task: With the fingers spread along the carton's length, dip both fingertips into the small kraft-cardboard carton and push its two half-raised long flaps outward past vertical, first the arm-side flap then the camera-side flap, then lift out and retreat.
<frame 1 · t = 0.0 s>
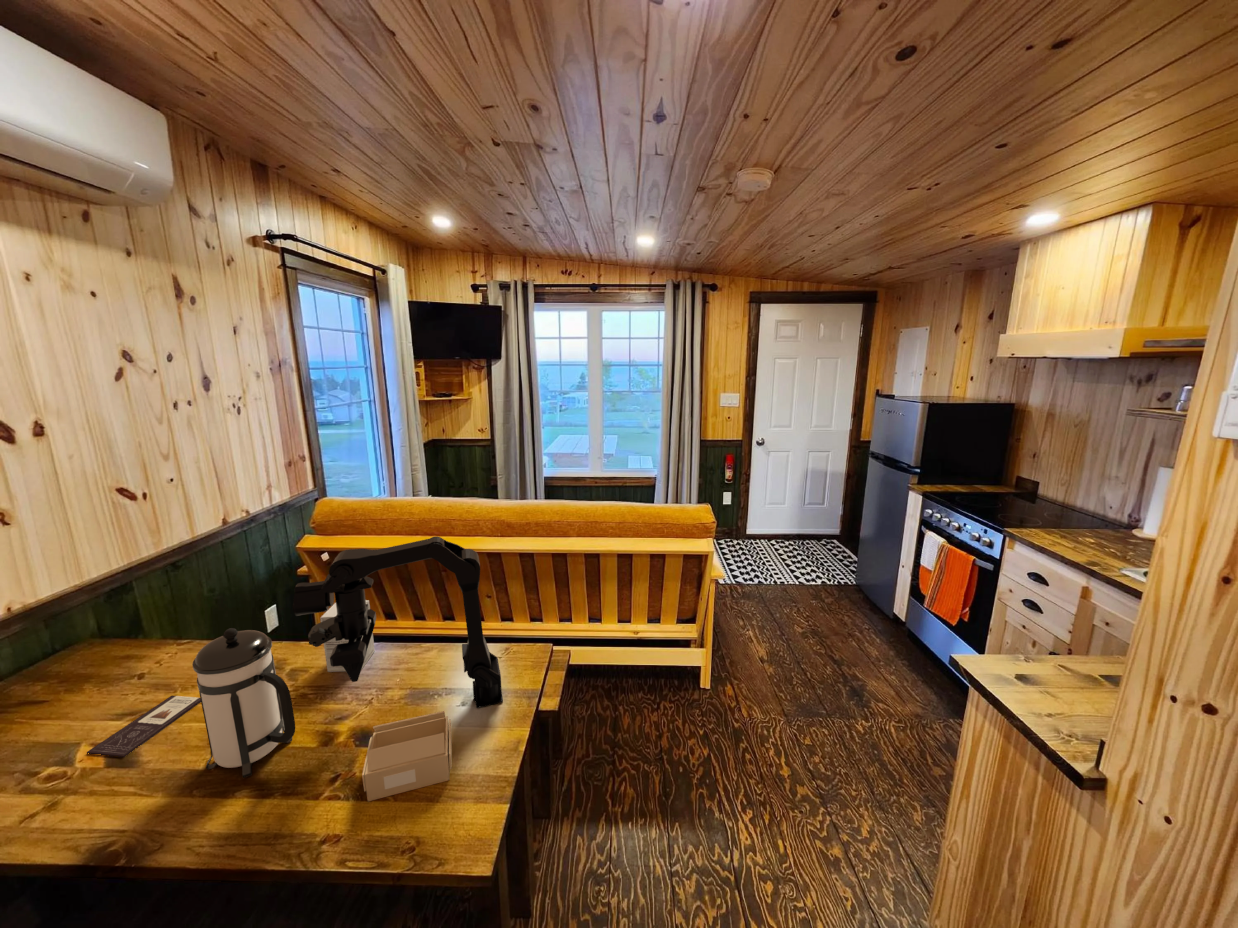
hand: (358, 668, 108), 15 cm above the table, fingers open, 9 cm apart
flap camera side: (406, 751, 93), point 8 cm above the table, hinge at 55.0°
supplement box: (352, 662, 134), on the table
flap arm side: (410, 721, 101), point 8 cm above the table, hinge at 55.0°
coffee press: (258, 753, 102), on the table
carton: (411, 767, 99), on the table
chocolate bar: (150, 727, 110), on the table
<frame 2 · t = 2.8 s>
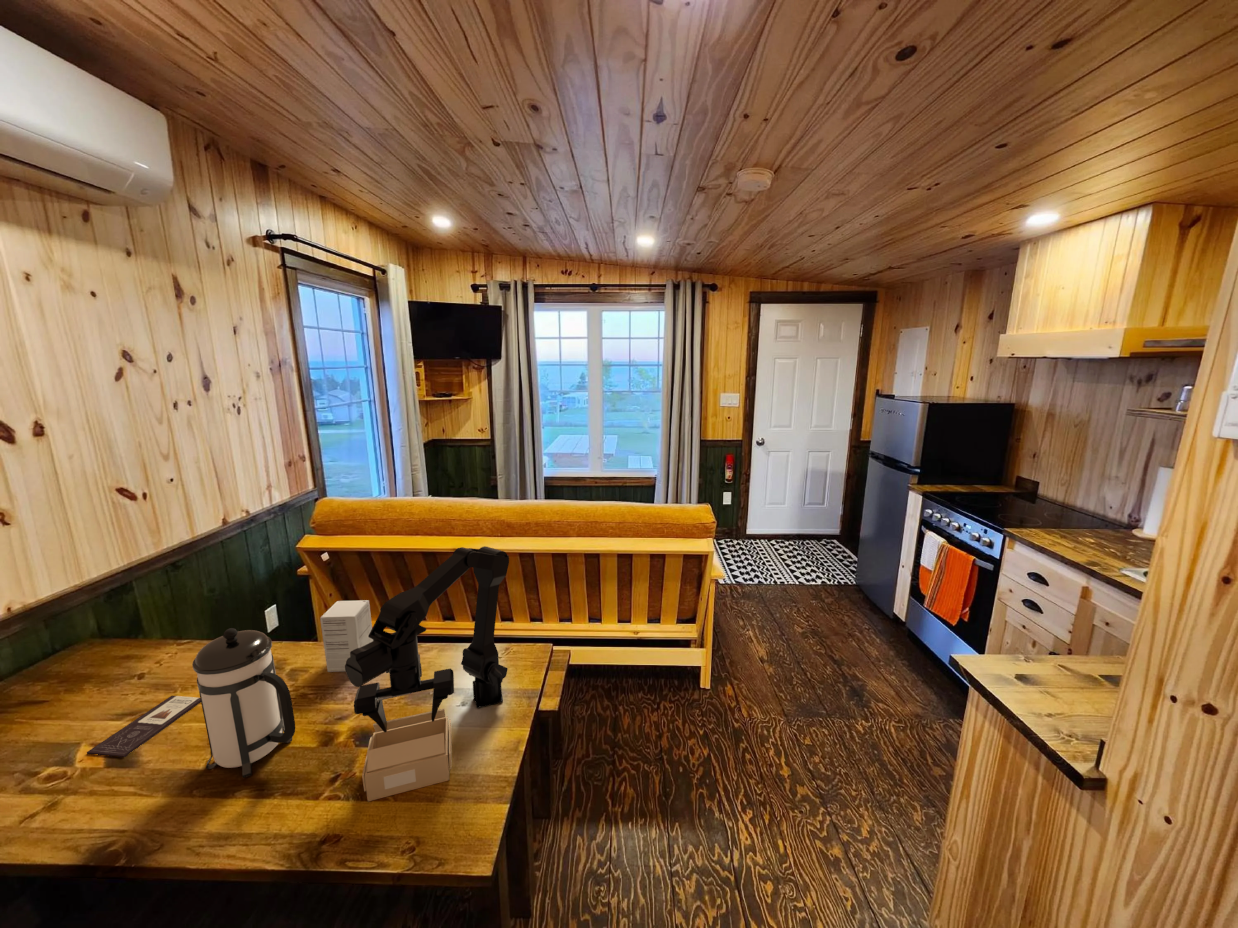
hand: (409, 725, 100), 8 cm above the table
flap arm side: (410, 720, 101), point 8 cm above the table, hinge at 62.3°, touching gripper
everything else where it was.
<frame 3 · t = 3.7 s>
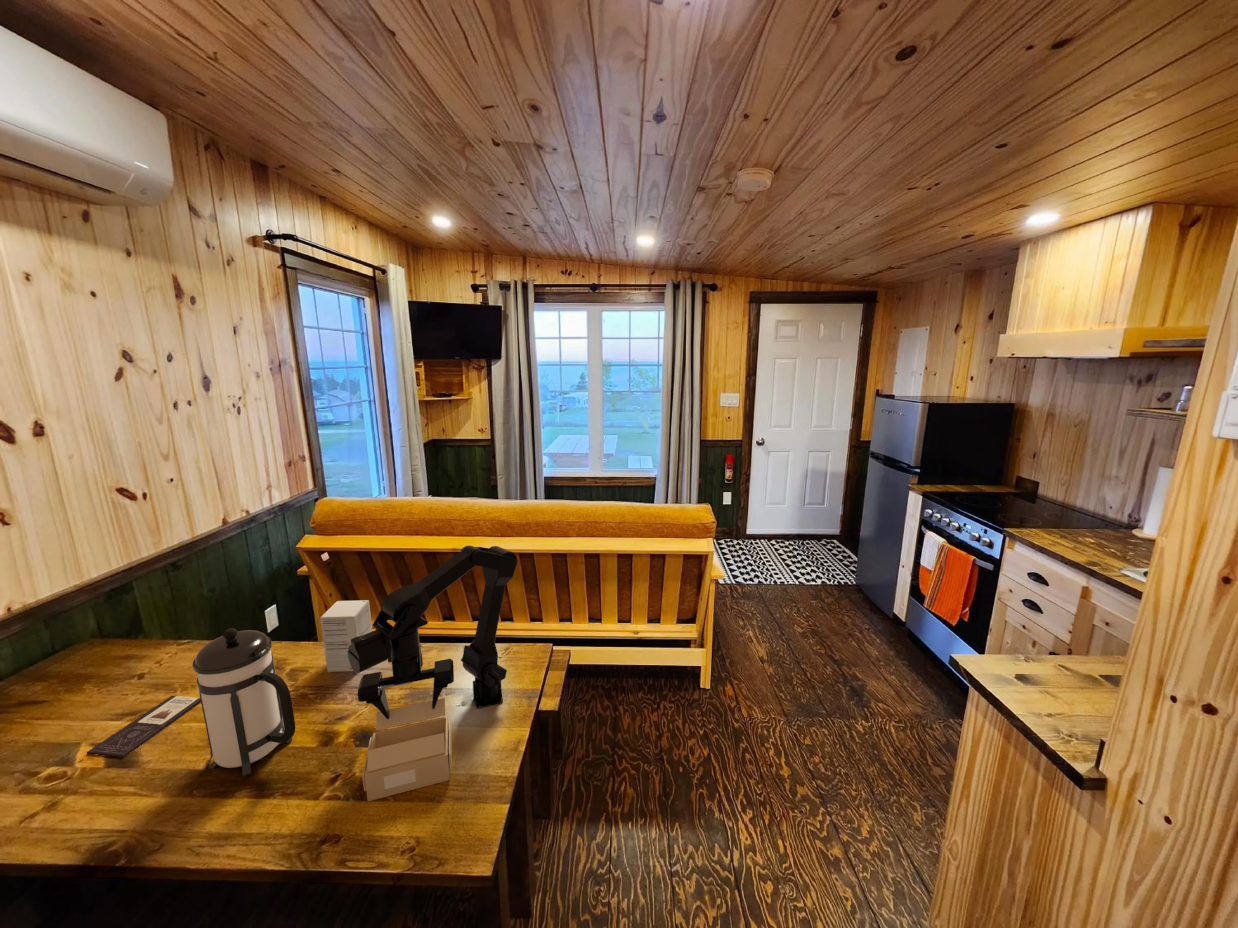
hand: (411, 712, 104), 8 cm above the table, fingers open, 9 cm apart
flap arm side: (411, 713, 104), point 8 cm above the table, hinge at 135.9°, touching gripper
everything else where it was.
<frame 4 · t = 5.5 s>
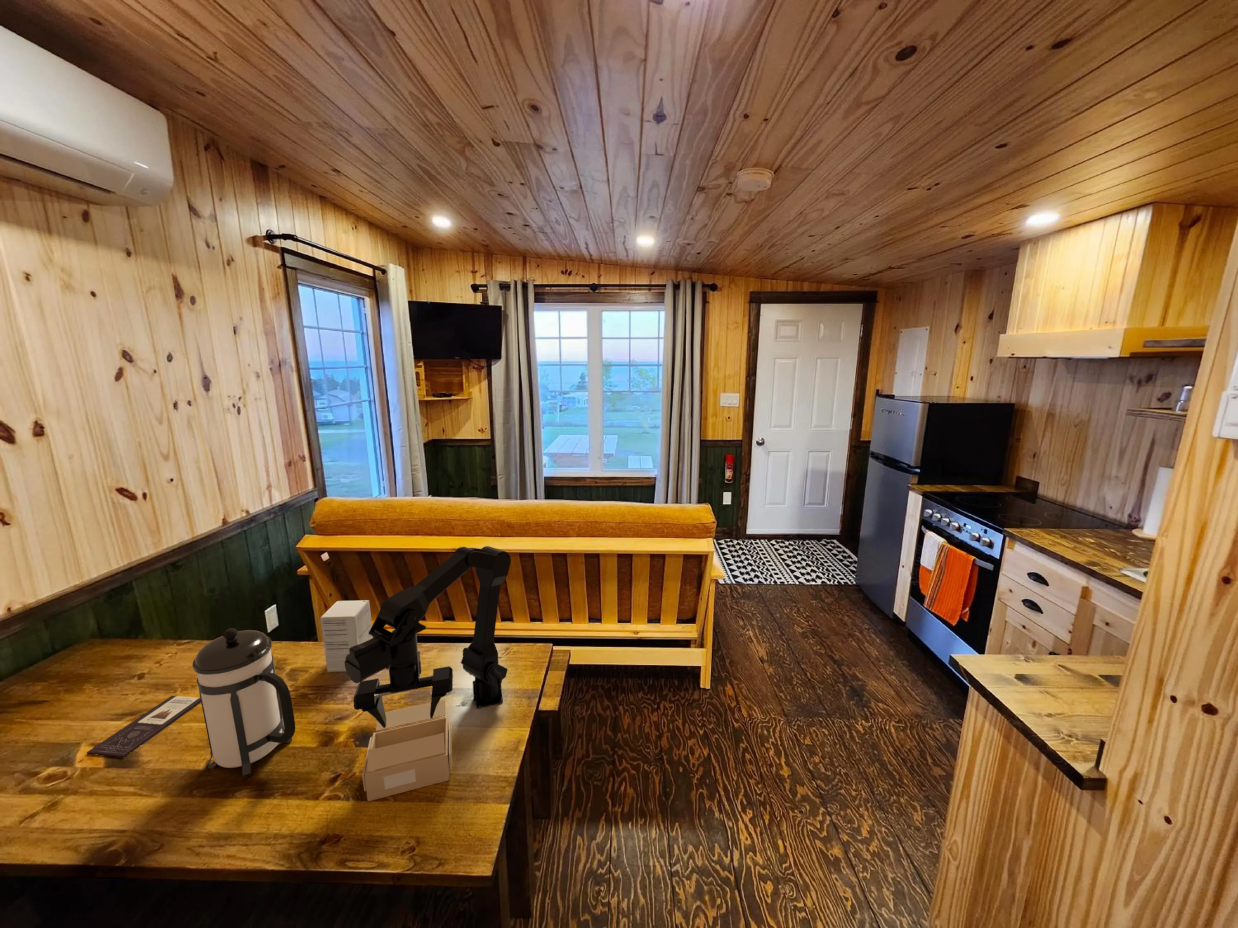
hand: (408, 721, 101), 8 cm above the table, fingers open, 9 cm apart
flap arm side: (411, 714, 104), point 7 cm above the table, hinge at 152.5°
everything else where it was.
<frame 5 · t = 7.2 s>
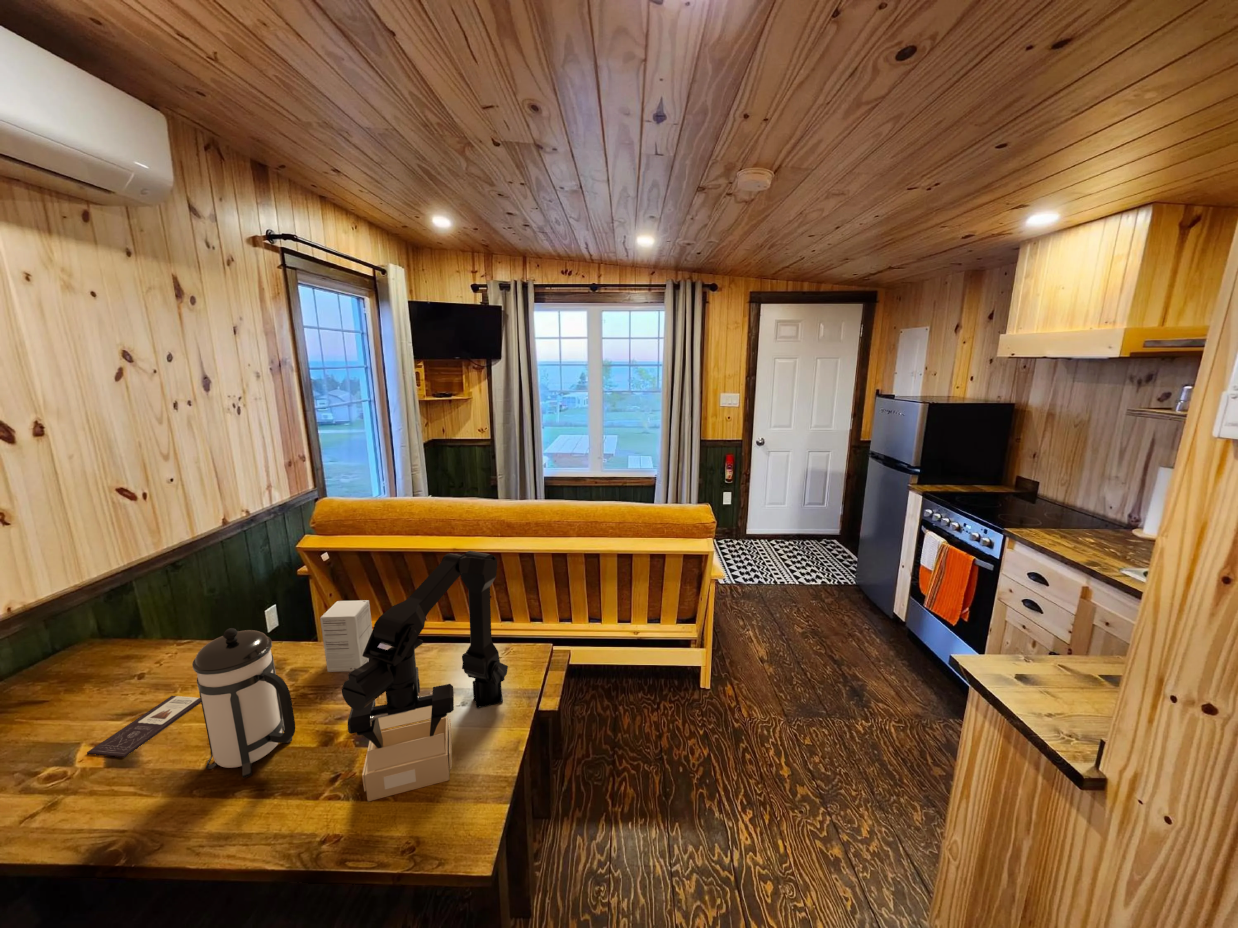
hand: (407, 743, 95), 8 cm above the table
flap camera side: (406, 751, 93), point 8 cm above the table, hinge at 64.1°, touching gripper
everything else where it was.
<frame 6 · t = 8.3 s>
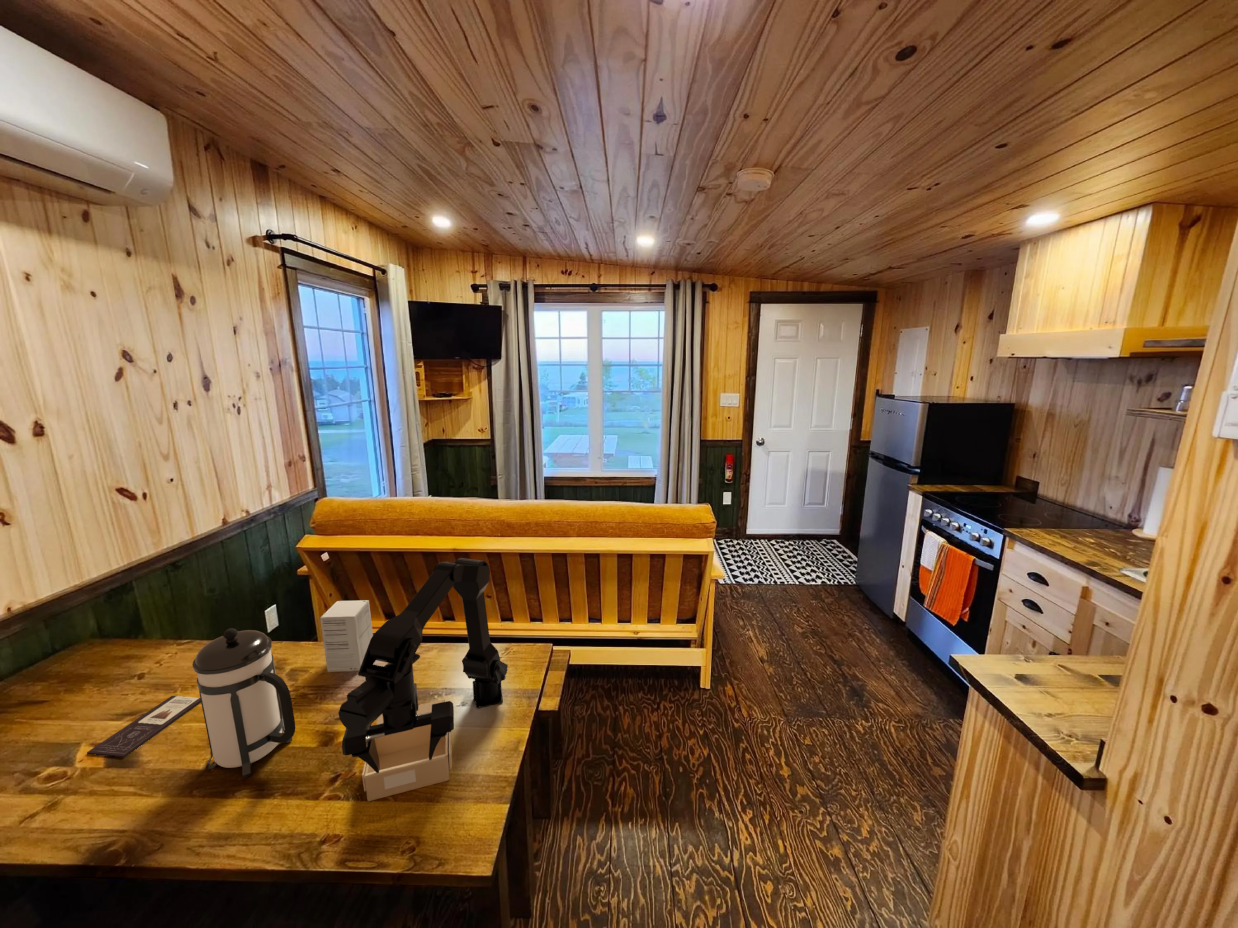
hand: (404, 764, 90), 8 cm above the table, fingers open, 9 cm apart
flap camera side: (405, 765, 91), point 7 cm above the table, hinge at 144.5°, touching gripper
everything else where it was.
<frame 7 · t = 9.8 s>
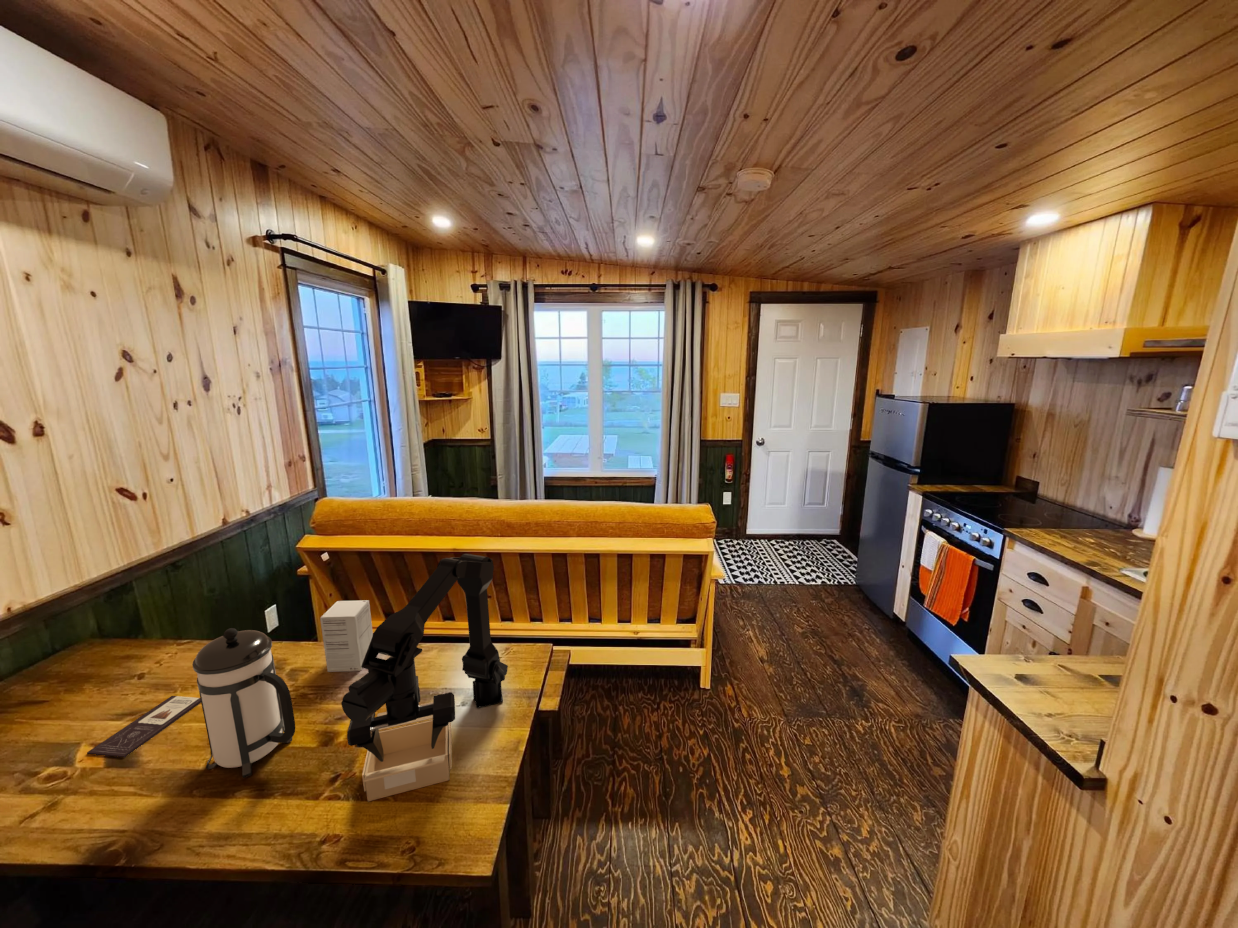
hand: (408, 753, 93), 8 cm above the table, fingers open, 9 cm apart
flap camera side: (405, 767, 91), point 7 cm above the table, hinge at 153.5°
everything else where it was.
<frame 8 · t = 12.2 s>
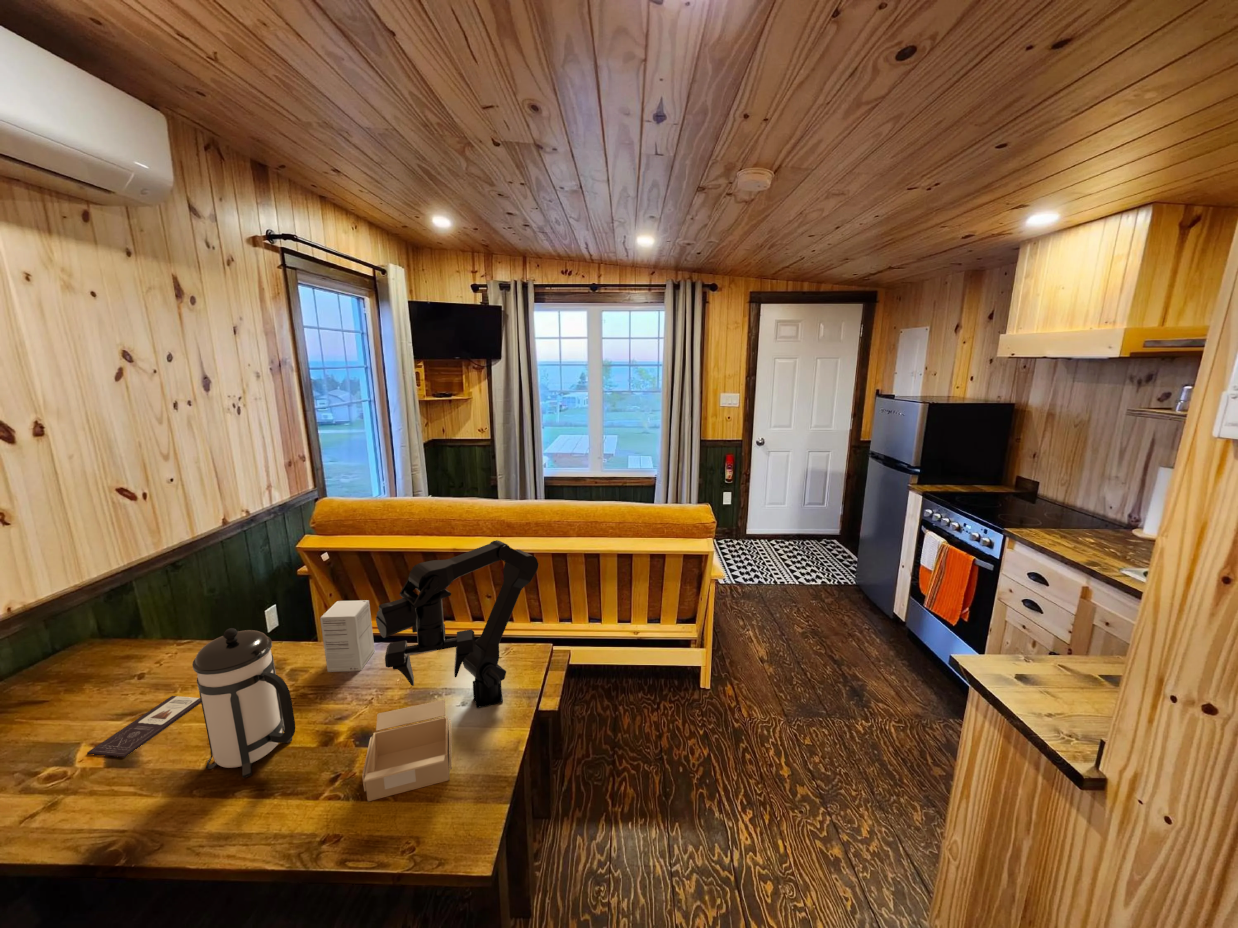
hand: (434, 680, 108), 12 cm above the table, fingers open, 9 cm apart
nothing on the table moved.
at the end: flap arm side at +152° (first picture: +55°); flap camera side at +154° (first picture: +55°) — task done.
